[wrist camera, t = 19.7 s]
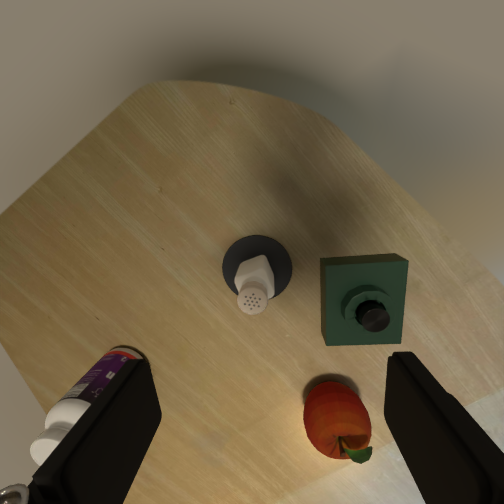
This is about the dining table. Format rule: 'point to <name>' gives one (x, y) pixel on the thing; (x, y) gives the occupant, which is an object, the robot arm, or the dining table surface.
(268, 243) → the coaster
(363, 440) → the fruit
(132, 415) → the robot arm
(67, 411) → the pill bottle
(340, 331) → the green square nut
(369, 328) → the black push button
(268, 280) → the salt shaker
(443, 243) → the dining table surface
